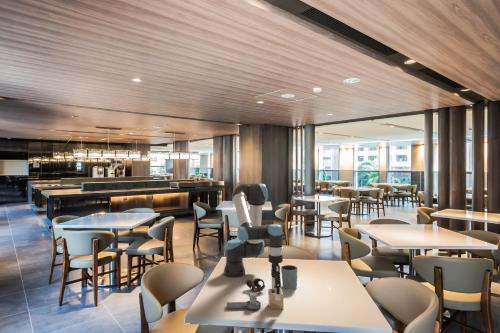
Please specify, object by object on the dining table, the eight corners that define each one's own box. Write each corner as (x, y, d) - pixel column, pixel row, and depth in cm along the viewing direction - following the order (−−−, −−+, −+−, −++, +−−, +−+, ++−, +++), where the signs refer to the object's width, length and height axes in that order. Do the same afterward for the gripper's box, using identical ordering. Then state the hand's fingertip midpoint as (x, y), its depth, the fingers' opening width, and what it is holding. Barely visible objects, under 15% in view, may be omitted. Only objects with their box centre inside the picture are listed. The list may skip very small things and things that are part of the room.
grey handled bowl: (226, 304, 160) (226, 291, 160) (260, 303, 161) (260, 290, 161) (226, 311, 152) (226, 297, 152) (261, 310, 153) (261, 296, 153)
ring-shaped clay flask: (265, 288, 184) (267, 279, 180) (261, 300, 175) (263, 291, 171) (246, 282, 186) (248, 272, 182) (242, 294, 178) (243, 284, 174)
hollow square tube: (268, 303, 161) (268, 289, 161) (281, 303, 161) (281, 288, 161) (270, 309, 154) (269, 294, 154) (283, 309, 154) (283, 294, 154)
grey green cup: (297, 290, 178) (297, 270, 178) (280, 289, 180) (280, 269, 180) (297, 284, 188) (297, 265, 188) (281, 283, 190) (281, 264, 190)
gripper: (286, 260, 146) (287, 304, 145) (279, 248, 171) (279, 285, 170) (271, 261, 145) (271, 305, 145) (266, 248, 170) (266, 286, 170)
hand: (275, 294), depth 157 cm, fingers open, 13 cm apart
